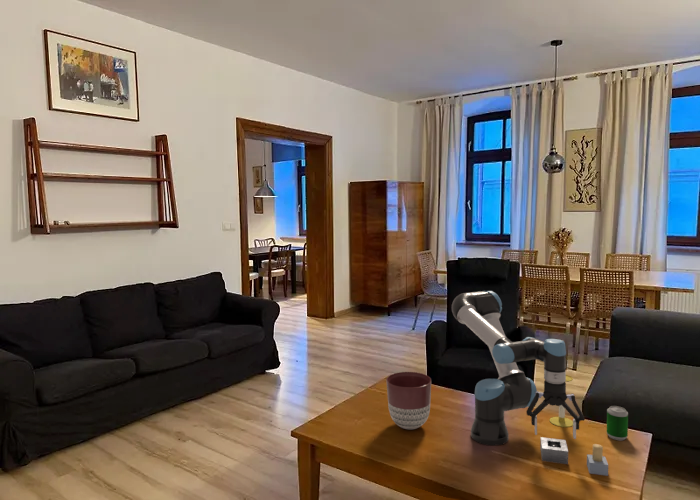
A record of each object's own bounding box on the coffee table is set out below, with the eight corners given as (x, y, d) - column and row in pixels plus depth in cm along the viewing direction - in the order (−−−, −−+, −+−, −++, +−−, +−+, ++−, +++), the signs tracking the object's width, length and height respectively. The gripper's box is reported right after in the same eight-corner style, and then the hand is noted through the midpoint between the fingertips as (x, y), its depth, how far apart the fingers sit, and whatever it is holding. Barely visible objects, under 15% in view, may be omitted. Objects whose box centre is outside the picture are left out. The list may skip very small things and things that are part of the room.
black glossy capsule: (549, 458, 183) (550, 446, 183) (549, 454, 186) (549, 442, 186) (558, 459, 182) (558, 447, 182) (557, 455, 185) (557, 443, 185)
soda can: (630, 442, 194) (631, 413, 193) (609, 440, 195) (610, 412, 194) (623, 433, 201) (624, 405, 200) (604, 432, 203) (604, 404, 201)
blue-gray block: (589, 473, 172) (589, 449, 172) (586, 464, 178) (587, 441, 177) (608, 475, 171) (608, 451, 170) (604, 466, 176) (605, 443, 175)
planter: (381, 432, 207) (380, 384, 205) (394, 414, 225) (393, 369, 223) (426, 440, 200) (425, 390, 198) (436, 420, 218) (435, 374, 216)
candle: (564, 416, 219) (565, 335, 215) (579, 425, 209) (580, 341, 206) (544, 418, 217) (545, 337, 213) (558, 428, 207) (559, 343, 203)
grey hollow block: (542, 460, 181) (542, 448, 181) (540, 449, 190) (540, 437, 190) (568, 464, 179) (568, 451, 178) (565, 452, 187) (565, 440, 187)
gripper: (520, 381, 182) (520, 436, 183) (593, 386, 174) (592, 443, 176) (519, 375, 189) (519, 427, 191) (589, 379, 181) (589, 434, 183)
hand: (554, 435), depth 183 cm, fingers open, 13 cm apart
